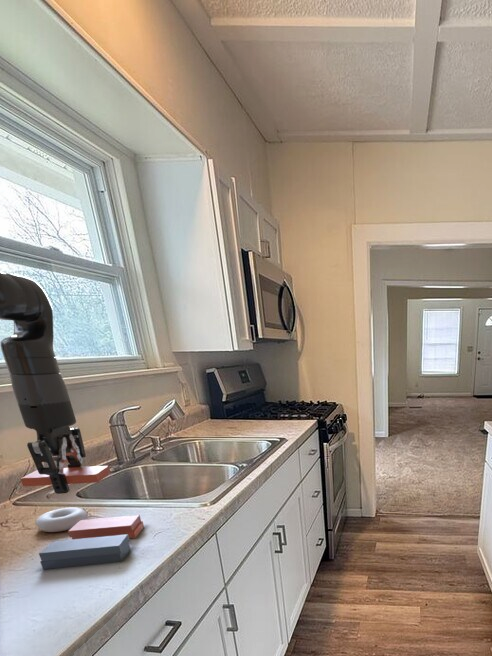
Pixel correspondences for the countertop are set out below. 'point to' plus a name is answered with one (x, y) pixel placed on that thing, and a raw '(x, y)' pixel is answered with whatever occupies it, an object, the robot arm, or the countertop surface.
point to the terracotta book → (69, 476)
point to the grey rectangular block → (85, 551)
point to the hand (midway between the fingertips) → (71, 486)
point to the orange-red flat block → (107, 527)
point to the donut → (60, 519)
